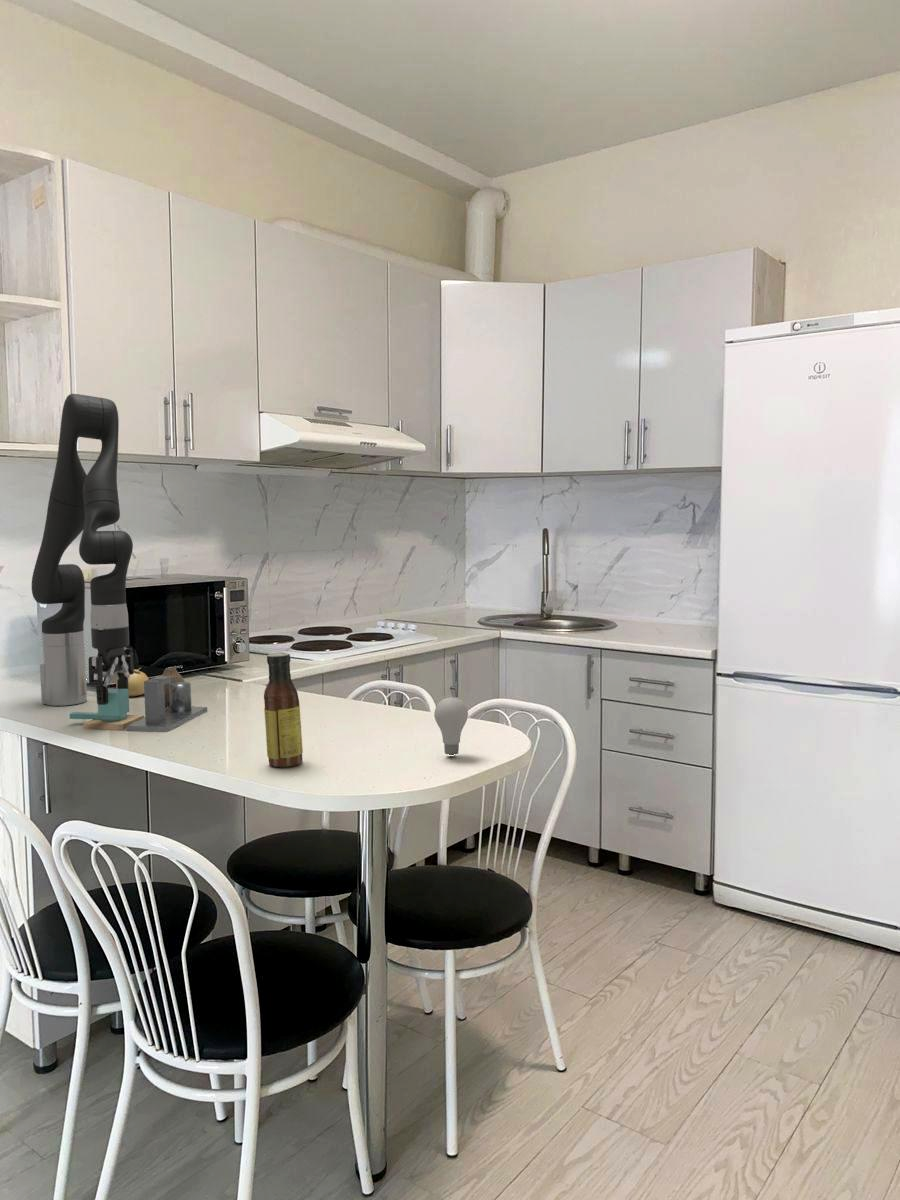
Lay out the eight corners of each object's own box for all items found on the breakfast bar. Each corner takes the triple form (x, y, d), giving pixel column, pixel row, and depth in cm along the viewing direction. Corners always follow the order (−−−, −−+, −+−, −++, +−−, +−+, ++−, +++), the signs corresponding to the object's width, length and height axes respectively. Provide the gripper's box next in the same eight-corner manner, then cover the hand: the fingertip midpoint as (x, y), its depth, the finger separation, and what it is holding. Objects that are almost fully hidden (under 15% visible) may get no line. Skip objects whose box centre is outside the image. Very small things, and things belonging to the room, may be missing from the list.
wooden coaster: (83, 728, 192) (83, 723, 192) (105, 719, 201) (105, 714, 201) (123, 730, 191) (123, 724, 191) (144, 720, 200) (143, 715, 200)
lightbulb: (465, 762, 163) (464, 701, 162) (432, 760, 164) (431, 700, 163) (470, 753, 169) (470, 694, 168) (438, 752, 170) (437, 693, 169)
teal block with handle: (78, 715, 200) (77, 687, 199) (131, 716, 198) (130, 688, 198) (65, 720, 195) (63, 692, 194) (119, 722, 193) (118, 693, 192)
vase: (181, 707, 213) (180, 670, 212) (152, 708, 213) (150, 670, 212) (190, 701, 220) (189, 665, 219) (162, 702, 220) (160, 666, 219)
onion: (111, 699, 224) (110, 670, 224) (122, 692, 232) (121, 665, 232) (144, 698, 225) (143, 670, 224) (154, 692, 233) (153, 664, 232)
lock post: (126, 730, 190) (124, 683, 189) (170, 710, 210) (168, 667, 209) (167, 731, 189) (165, 684, 188) (207, 711, 209) (205, 667, 208)
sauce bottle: (307, 760, 166) (304, 651, 164) (296, 769, 160) (293, 656, 158) (273, 758, 167) (269, 651, 165) (260, 768, 161) (257, 656, 159)
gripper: (110, 621, 202) (114, 693, 203) (74, 629, 188) (78, 706, 189) (142, 621, 201) (145, 694, 202) (108, 629, 187) (112, 707, 188)
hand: (113, 700), depth 196 cm, fingers open, 8 cm apart
